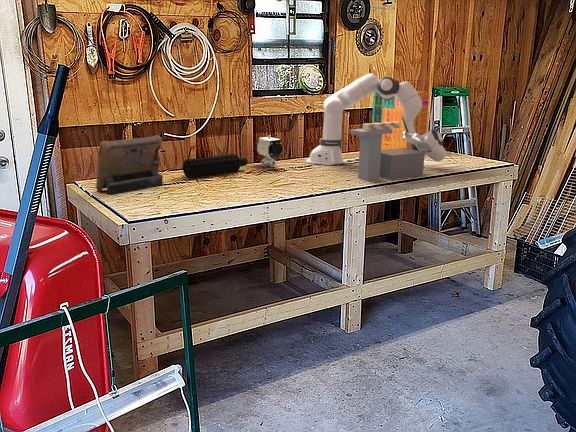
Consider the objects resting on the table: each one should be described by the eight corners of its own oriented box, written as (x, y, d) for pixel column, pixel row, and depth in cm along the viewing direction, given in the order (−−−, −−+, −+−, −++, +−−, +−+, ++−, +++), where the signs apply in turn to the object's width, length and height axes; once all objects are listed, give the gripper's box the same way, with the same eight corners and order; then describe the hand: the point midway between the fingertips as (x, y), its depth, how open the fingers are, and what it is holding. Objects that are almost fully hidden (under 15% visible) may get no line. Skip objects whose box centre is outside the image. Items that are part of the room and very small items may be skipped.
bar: (395, 127, 304) (395, 121, 304) (400, 128, 301) (400, 122, 300) (362, 129, 294) (362, 123, 293) (367, 130, 290) (367, 124, 290)
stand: (377, 175, 310) (380, 127, 303) (389, 178, 302) (392, 129, 295) (347, 178, 301) (349, 129, 293) (359, 182, 292) (361, 131, 285)
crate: (403, 170, 323) (404, 147, 319) (422, 175, 310) (424, 152, 306) (371, 174, 312) (372, 150, 308) (390, 179, 299) (391, 155, 295)
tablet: (150, 180, 292) (147, 132, 285) (167, 184, 284) (165, 134, 277) (94, 192, 268) (89, 139, 261) (111, 196, 259) (107, 142, 252)
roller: (240, 165, 326) (243, 149, 321) (249, 173, 319) (252, 157, 314) (180, 173, 303) (182, 156, 298) (189, 181, 297) (191, 164, 292)
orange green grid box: (370, 147, 399) (373, 89, 388) (389, 145, 409) (392, 89, 398) (405, 154, 372) (409, 92, 361) (424, 152, 382) (429, 91, 371)
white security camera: (254, 164, 336) (254, 134, 331) (266, 162, 341) (266, 133, 336) (270, 169, 322) (270, 138, 317) (283, 167, 327) (283, 137, 322)
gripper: (414, 137, 324) (399, 126, 317) (440, 141, 307) (425, 130, 300) (409, 147, 324) (394, 136, 317) (435, 152, 307) (419, 141, 300)
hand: (409, 133), depth 308 cm, fingers open, 8 cm apart
